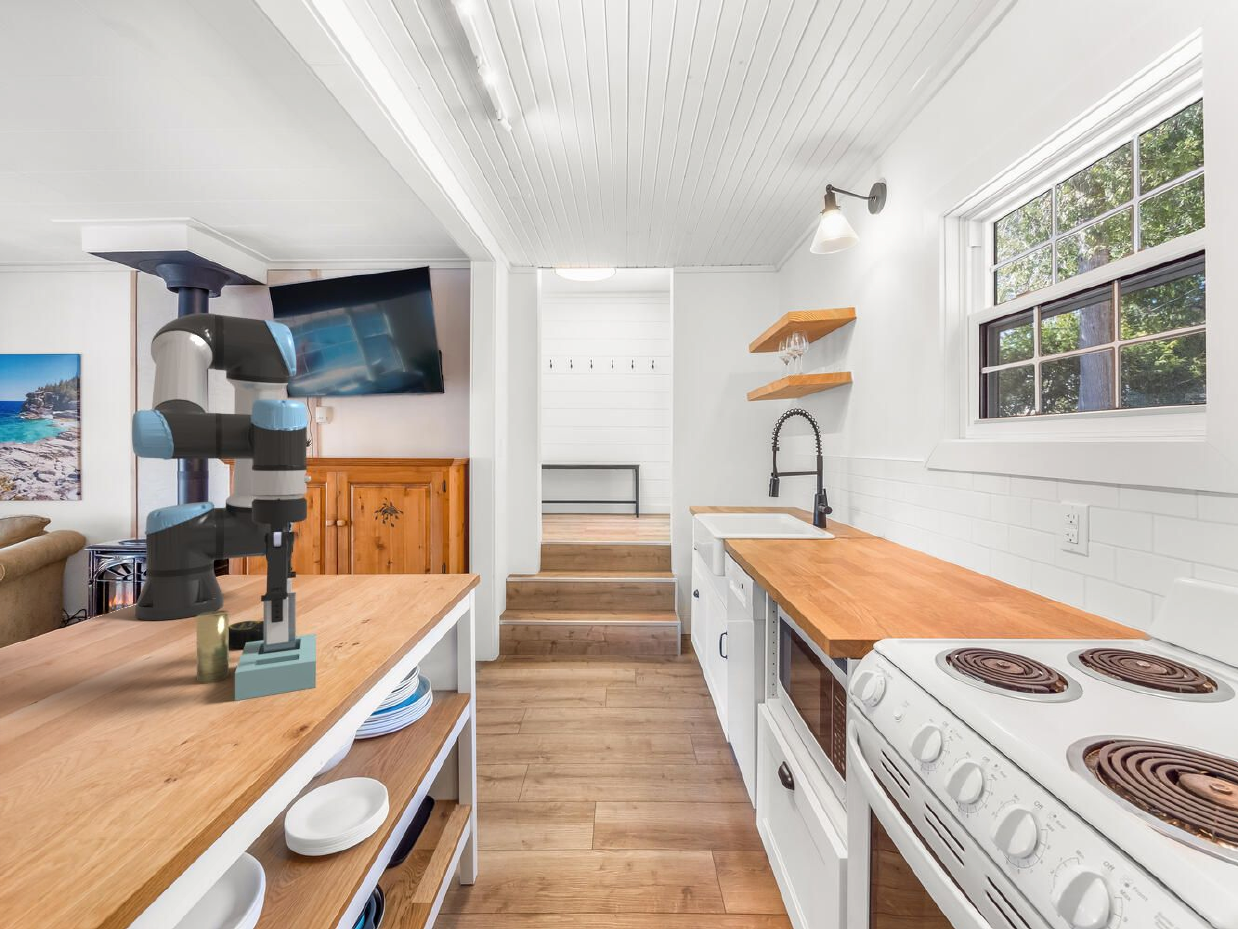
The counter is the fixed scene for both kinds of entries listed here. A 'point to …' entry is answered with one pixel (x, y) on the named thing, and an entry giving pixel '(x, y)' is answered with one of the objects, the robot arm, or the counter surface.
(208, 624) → the round bit
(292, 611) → the square bit
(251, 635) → the tape measure
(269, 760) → the counter surface
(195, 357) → the robot arm
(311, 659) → the socket block
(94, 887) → the counter surface
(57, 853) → the counter surface
